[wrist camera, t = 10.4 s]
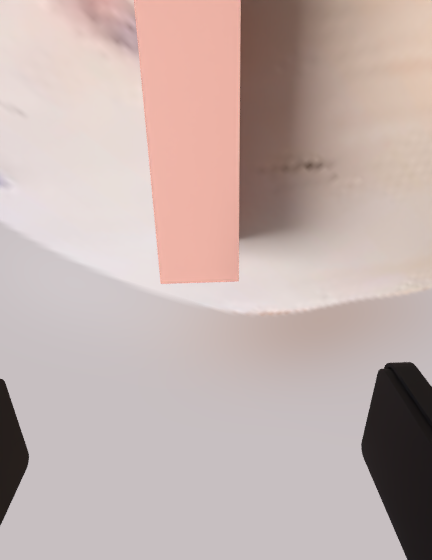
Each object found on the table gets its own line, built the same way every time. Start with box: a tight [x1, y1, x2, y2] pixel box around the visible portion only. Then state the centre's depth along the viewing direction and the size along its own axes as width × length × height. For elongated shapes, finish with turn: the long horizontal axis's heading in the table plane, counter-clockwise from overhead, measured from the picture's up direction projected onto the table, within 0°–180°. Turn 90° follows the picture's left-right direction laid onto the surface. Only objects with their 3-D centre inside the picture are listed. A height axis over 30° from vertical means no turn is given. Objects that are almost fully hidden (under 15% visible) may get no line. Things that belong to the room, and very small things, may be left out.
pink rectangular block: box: [134, 0, 241, 284], centre depth 19 cm, size 4×14×6 cm, turn 1°
